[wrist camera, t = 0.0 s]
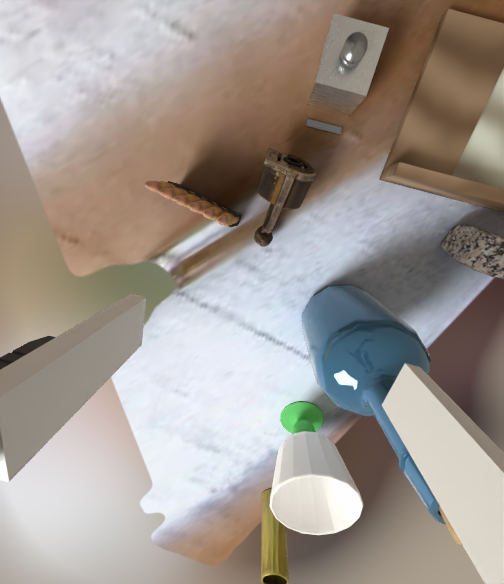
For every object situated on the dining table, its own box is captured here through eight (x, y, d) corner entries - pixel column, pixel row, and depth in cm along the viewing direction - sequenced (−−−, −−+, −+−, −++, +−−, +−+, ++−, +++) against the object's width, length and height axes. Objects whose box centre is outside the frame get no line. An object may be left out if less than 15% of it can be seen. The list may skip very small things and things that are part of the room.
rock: (458, 265, 30) (487, 233, 28) (436, 244, 37) (458, 217, 35) (562, 306, 28) (604, 276, 26) (519, 276, 36) (548, 250, 33)
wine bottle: (284, 321, 43) (314, 535, 14) (337, 266, 39) (519, 410, 11) (339, 363, 45) (459, 623, 16) (394, 314, 41) (676, 546, 13)
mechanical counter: (310, 158, 34) (326, 137, 25) (298, 246, 38) (308, 257, 29) (261, 155, 34) (258, 133, 25) (254, 243, 39) (250, 252, 29)
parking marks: (332, 26, 29) (333, 25, 29) (370, 37, 29) (371, 35, 29) (305, 125, 33) (305, 125, 33) (339, 134, 33) (340, 134, 33)
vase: (281, 506, 59) (285, 593, 46) (258, 500, 59) (255, 585, 46) (289, 491, 57) (295, 577, 44) (265, 485, 57) (263, 569, 44)
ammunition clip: (241, 215, 37) (229, 216, 26) (237, 226, 38) (223, 232, 27) (179, 184, 37) (139, 171, 25) (176, 195, 37) (134, 188, 26)
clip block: (322, 50, 30) (337, 1, 23) (366, 62, 30) (396, 16, 23) (307, 105, 32) (317, 75, 25) (349, 116, 32) (371, 89, 25)
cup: (297, 380, 47) (310, 459, 32) (349, 415, 49) (384, 505, 34) (256, 421, 51) (251, 508, 36) (305, 451, 53) (320, 546, 38)
